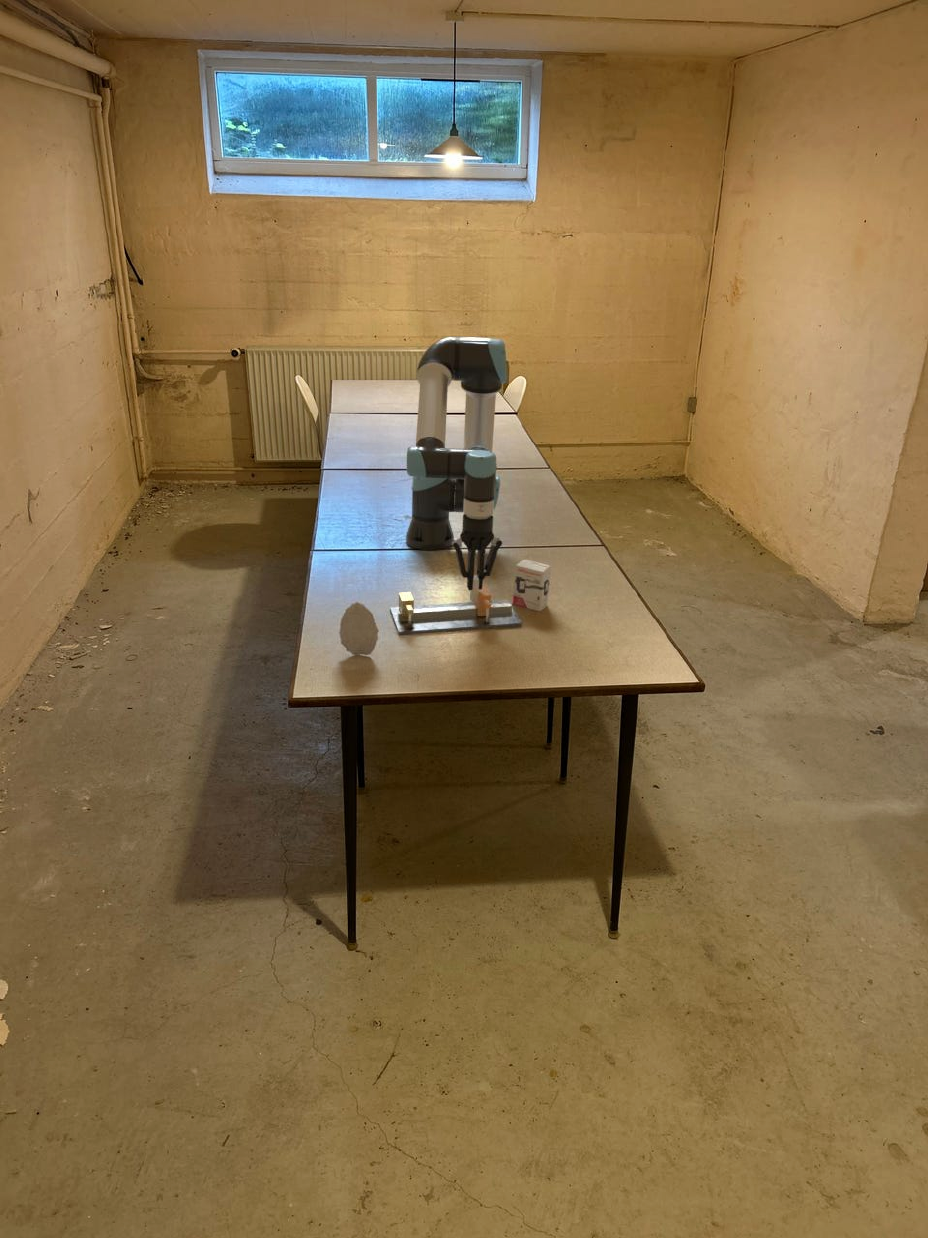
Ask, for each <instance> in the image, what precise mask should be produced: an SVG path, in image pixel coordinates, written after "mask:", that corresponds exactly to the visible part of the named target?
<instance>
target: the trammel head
mask: <svg viewBox="0 0 928 1238" xmlns="http://www.w3.org/2000/svg"><path fill="white" fill-rule="evenodd" d="M491 597H492V594H491V593H490V591H489V590H488V588H487V587H486V586H485V587H483V586H482V589H480V590H479V593H478V603H474V605H476V606H477V608H478V612H477V615H478V616H486V622H488V619H489V611H490V608H491V604H490V602H491V601H492V600H491Z"/></svg>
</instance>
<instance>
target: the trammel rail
mask: <svg viewBox="0 0 928 1238" xmlns="http://www.w3.org/2000/svg"><path fill="white" fill-rule="evenodd" d="M414 606H415V599H414V597H413V595H412V592H411V591H402V592H398V607H399V610H398V619H399V621H402V622H404V621H409V625H408V627H409V628H410V627H411V621H413V620H419V619H433V618H447V617H461V616H475V615H477V612H478V608H477V606H476V605H470V606H456V607H441V608H426V609H414ZM512 608H513V604H511V602H509V603H499V604H491V608H490V611H489V614H503V613H512Z"/></svg>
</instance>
